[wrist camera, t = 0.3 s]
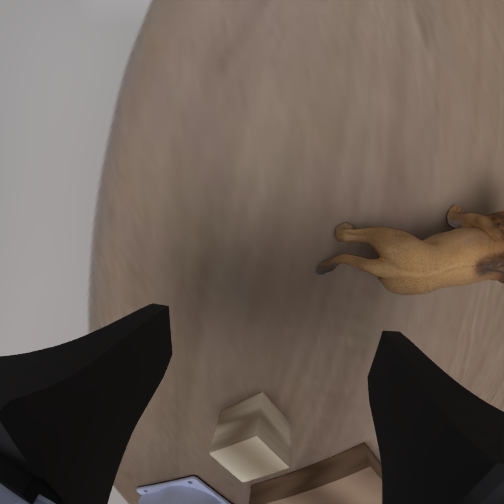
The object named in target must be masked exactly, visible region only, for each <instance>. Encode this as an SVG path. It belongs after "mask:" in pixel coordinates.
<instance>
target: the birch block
mask: <svg viewBox="0 0 504 504" xmlns="http://www.w3.org/2000/svg"><path fill="white" fill-rule="evenodd" d="M209 454H210V455H211V456H212V457H214V458H215V459H216V460H217V461H218V462H219V463H220V464H221V465H223V466H224V467H225V468H226V469H227V470H228V471H230V472H231V473H232V474H233V475H234V476H235V477H237V478H238V479H239V480H240V481H242V482H246V481H250V480H253V479H256V478H259V477H263V476H266V475H269V474H272V473H275V472H278V471H281V470H284V469H287V468H289V467H290V422H289V421H288V420H287V419H286V418H285V417H284V416H283V414H282V413H281V412H280V411H279V410H278V409H277V408H276V406H275V405H274V404H273V403H272V402H271V401H270V400H269V398H268V397H267V396H266V395H265V394H264V393H263V392H261V393H259V394H257V395H255V396H253V397H250V398H248V399H246V400H244V401H242V402H240V403H237V404H235V405H233V406H231V407H228V408H226V409H224V410H221V413H220V416H219V420H218V423H217V427H216V430H215V433H214V437H213V440H212V444H211V447H210V450H209Z"/></svg>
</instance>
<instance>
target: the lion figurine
mask: <svg viewBox="0 0 504 504" xmlns="http://www.w3.org/2000/svg"><path fill="white" fill-rule="evenodd" d="M447 219H448V223H449V224H450V225H451V226H453V227H455V228H458V229H454V230H451V231H447V232H442V233H438V234H435V235H432V236H430V237H428V238H426V239H425V240H422V241H421V240H419V239H418V238H416V237H415V236H413V235H411V234H409V233H407V232H404V231H402V230H397V229H392V228H388V227H371V228H364V229H355V228H354V226H353V225H351V224H349V223H342V224H340V225H339V226H338V227H337V229H336V239H337V240H338V241H340V242H344V243H356V242H363V243H366V244H368V245H371V246H372V247H373V249H374V250H375V252H376V253H377V254H378V255H379V258H377V259H366V258H362V257H359V256H355V255H350V254H340V255H338V256H336V257H334V258H333V259H331V260H329V261H324V262H323V263H322V264H321V265H320V266H318V268H317V269H316V272H317V274H318V275H322V274H325V273H327V272H330V271H332V270H334V269H335V268H336V266H338V265H339V264H341V263H346V264H350V265H352V266H355V267H357V268H359V269H361V270H364V271H367V272H369V273H371V274H373V275H376V276H378V278H379V280H380V281H381V283H382V284H383V285H384V286H385V288H386V289H387V290H388V291H391V292H393V293H396V294H401V295H414V294H425V293H429V292H431V291H433V290H436V289H439V288H443V287H452V286H461V285H466V284H470V283H475V282H480V281H484V280H487V279H490V280H498V281H499V282H501V283H504V211H500V212H496V213H492V214H490V215H487V216H483V215H480V214H476V213H466V214H464V212H463V211H462V209H461V208H460V207H459V206H456V205H453V206H452V207H451V208H450V209H449V211H448V213H447Z"/></svg>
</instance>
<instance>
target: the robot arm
mask: <svg viewBox="0 0 504 504" xmlns="http://www.w3.org/2000/svg"><path fill="white" fill-rule="evenodd" d="M171 356H172V343H171V331H170V317H169V306H164V305H158V304H150V305H148V306H145V307H143V308H141V309H139V310H137V311H135V312H133V313H131V314H129V315H127V316H125V317H123V318H121V319H119V320H117V321H115V322H113V323H111V324H110V325H107V326H105V327H103V328H101V329H99V330H96V331H94V332H92V333H90V334H87V335H85V336H83V337H80V338H78V339H75V340H72V341H70V342H67V343H64V344H61V345H58V346H54V347H50V348H46V349H42V350H38V351H34V352H30V353H24V354H18V355H10V356H1V357H0V504H107V503H108V500H109V496H110V492H111V489H112V486H113V483H114V480H115V477H116V474H117V471H118V468H119V465H120V463H121V460H122V457H123V454H124V452H125V449H126V447H127V444H128V442H129V439H130V437H131V434H132V432H133V430H134V428H135V426H136V424H137V422H138V420H139V419H140V417H141V415H142V414H143V412H144V410H145V408H146V407H147V405H148V403H149V401H150V400H151V398H152V396H153V394H154V393H155V391H156V389H157V387H158V386H159V384H160V382H161V380H162V379H163V377H164V374H165V372H166V369H167V367H168V364H169V362H170V359H171ZM368 391H369V402H370V407H371V412H372V417H373V421H374V426H375V431H376V436H377V441H378V446H379V451H380V458H381V467H382V504H504V412H503V411H501V410H499V409H497V408H495V407H494V406H492V405H490V404H488V403H487V402H485V401H483V400H482V399H480V398H479V397H477V396H476V395H474V394H473V393H471V392H470V391H468V390H467V389H465V388H464V387H463V386H461V385H460V384H459V383H457V382H456V381H455V380H454V379H453V378H451V377H450V376H449V375H448V374H446V373H445V372H444V371H443V370H442V369H441V368H439V367H438V366H437V365H436V364H435V363H434V362H433V361H432V360H431V359H429V358H428V357H427V356H426V355H425V354H424V353H423V352H422V351H421V350H420V349H419V348H418V347H416V346H415V345H414V344H413V343H412V342H411V341H410V340H409V339H408V338H407V337H405V336H404V335H403V334H402V333H400V332H396V331H383V332H382V335H381V338H380V341H379V345H378V348H377V351H376V354H375V357H374V360H373V363H372V366H371V369H370V372H369V375H368ZM136 491H137V492H138V493H139V494H141V497H140V499H139V502H138V504H231V503H230V502H228V501H227V500H226V499H224V498H223V497H221V496H220V495H219V494H218V493H216V492H215V491H214V490H212V489H211V488H210V487H208V486H207V485H206V484H205V483H203V482H202V481H201V480H200V479H198V478H197V477H194V476H191V477H187V478H183V479H179V480H174V481H170V482H165V483H160V484H155V485H150V486H145V487H139V488H137V490H136Z"/></svg>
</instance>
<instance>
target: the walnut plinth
mask: <svg viewBox="0 0 504 504" xmlns="http://www.w3.org/2000/svg"><path fill="white" fill-rule="evenodd" d="M249 504H382V467H381V463H380V462H379V460H378V459H377V458H376V456H375V455H374V454H373V453H372V451H371V450H370V449H369V447H368V446H367V445H366V443H365V442H364V443H362V444H360V445H358V446H356V447H354V448H352V449H349V450H347V451H345V452H343V453H340V454H338V455H336V456H334V457H331V458H329V459H326V460H324V461H322V462H319V463H317V464H314V465H311V466H309V467H306V468H303V469H301V470H298V471H295V472H292V473H290V474H287V475H284V476H281V477H278V478H275V479H272V480H268V481H265V482H262V483H259V484H255V485H252V486H251V493H250V500H249Z"/></svg>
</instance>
